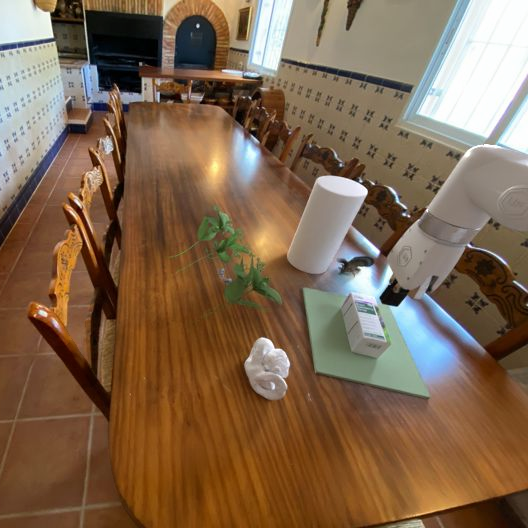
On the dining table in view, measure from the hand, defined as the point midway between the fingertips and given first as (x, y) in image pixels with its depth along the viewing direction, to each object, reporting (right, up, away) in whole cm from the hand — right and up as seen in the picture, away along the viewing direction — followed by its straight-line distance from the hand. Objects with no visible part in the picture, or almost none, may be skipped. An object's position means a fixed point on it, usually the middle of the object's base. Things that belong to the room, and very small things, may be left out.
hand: (388, 302), depth 60 cm
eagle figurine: (+9, +5, +29) cm, 31 cm away
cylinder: (-2, +9, +32) cm, 33 cm away
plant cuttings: (-33, 0, +18) cm, 38 cm away
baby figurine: (-25, -15, +1) cm, 30 cm away
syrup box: (-1, -10, +3) cm, 11 cm away
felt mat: (0, -9, +10) cm, 14 cm away
